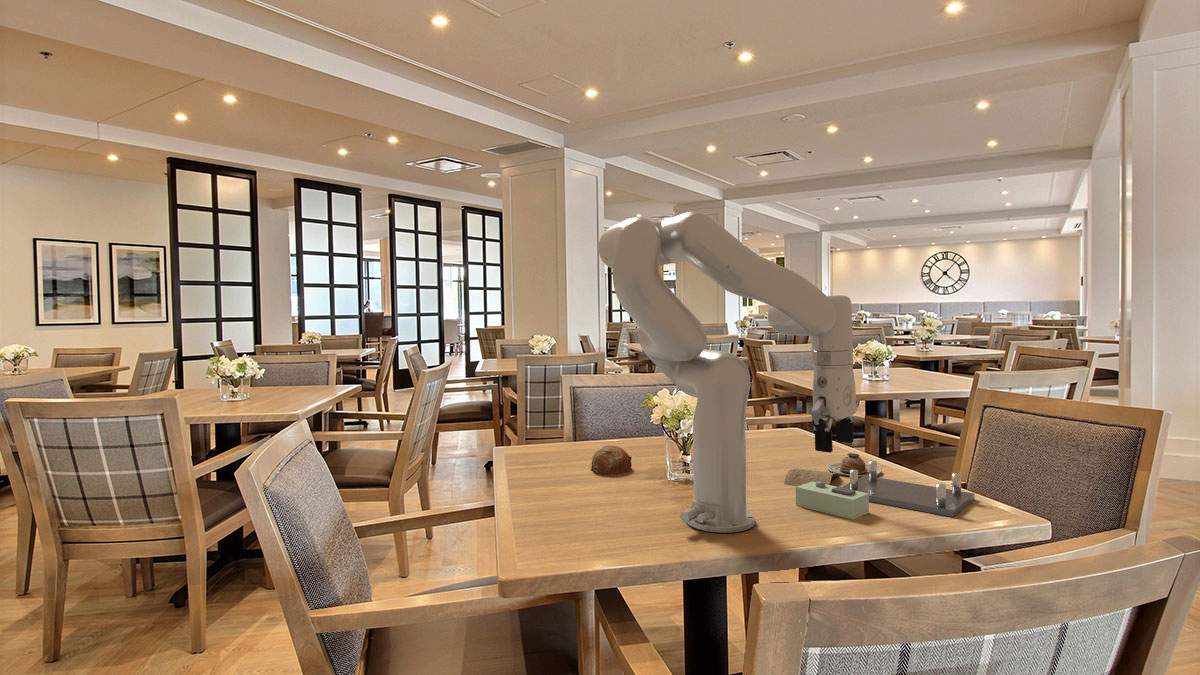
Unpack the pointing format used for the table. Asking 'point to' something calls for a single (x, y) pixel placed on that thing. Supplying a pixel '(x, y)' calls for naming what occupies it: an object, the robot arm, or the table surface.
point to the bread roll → (611, 460)
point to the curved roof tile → (807, 477)
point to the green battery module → (832, 499)
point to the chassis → (912, 493)
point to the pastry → (851, 465)
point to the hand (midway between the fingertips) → (834, 446)
